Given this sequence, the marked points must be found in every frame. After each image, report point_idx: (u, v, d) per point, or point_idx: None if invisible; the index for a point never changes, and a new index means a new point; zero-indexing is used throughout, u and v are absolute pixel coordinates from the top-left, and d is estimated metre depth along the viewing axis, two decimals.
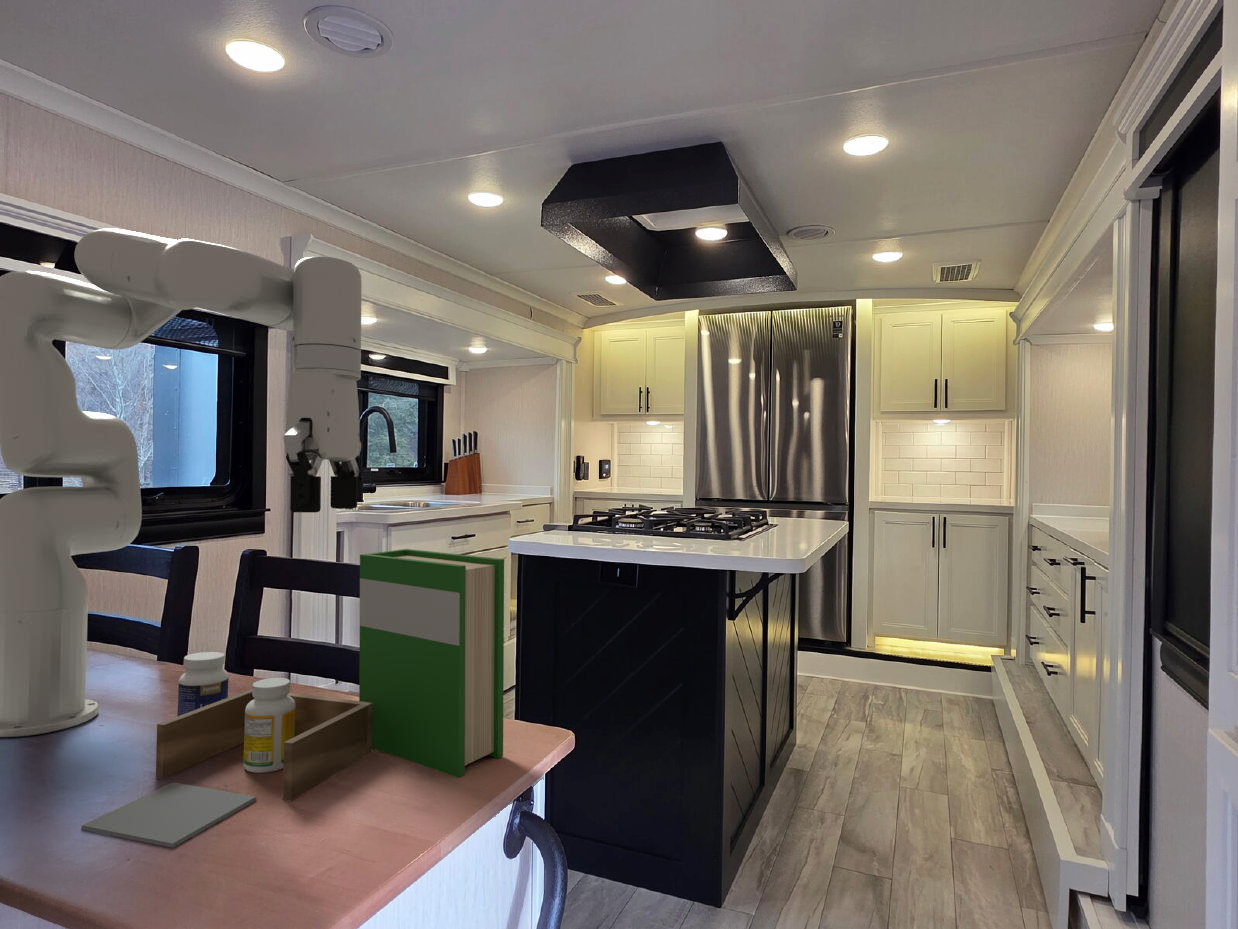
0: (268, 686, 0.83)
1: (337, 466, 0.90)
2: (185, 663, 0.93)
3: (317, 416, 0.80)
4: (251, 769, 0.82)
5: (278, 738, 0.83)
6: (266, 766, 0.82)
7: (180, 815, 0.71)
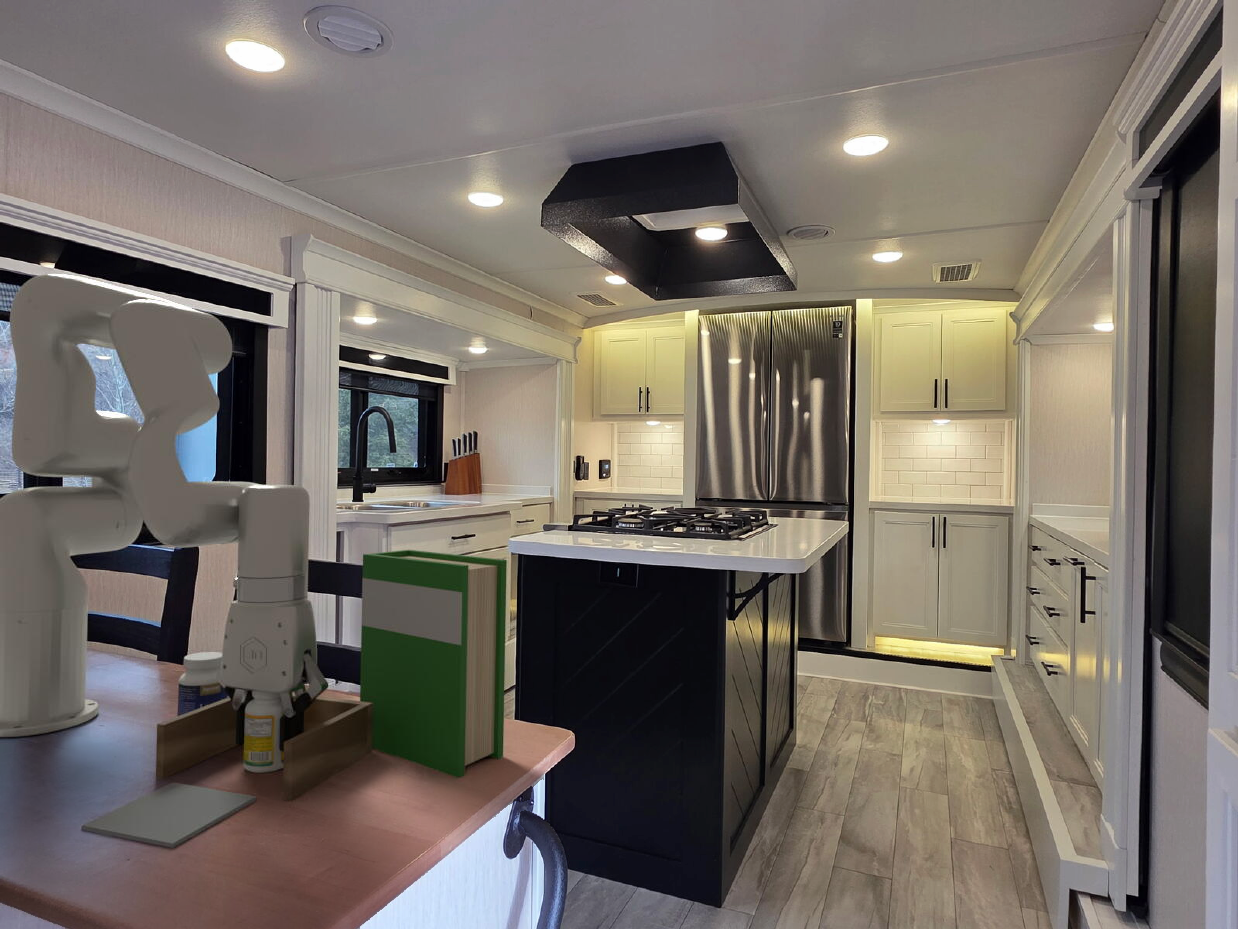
0: None
1: None
2: (185, 663, 0.93)
3: (314, 646, 0.84)
4: (251, 769, 0.82)
5: (278, 737, 0.83)
6: (266, 766, 0.82)
7: (180, 815, 0.71)
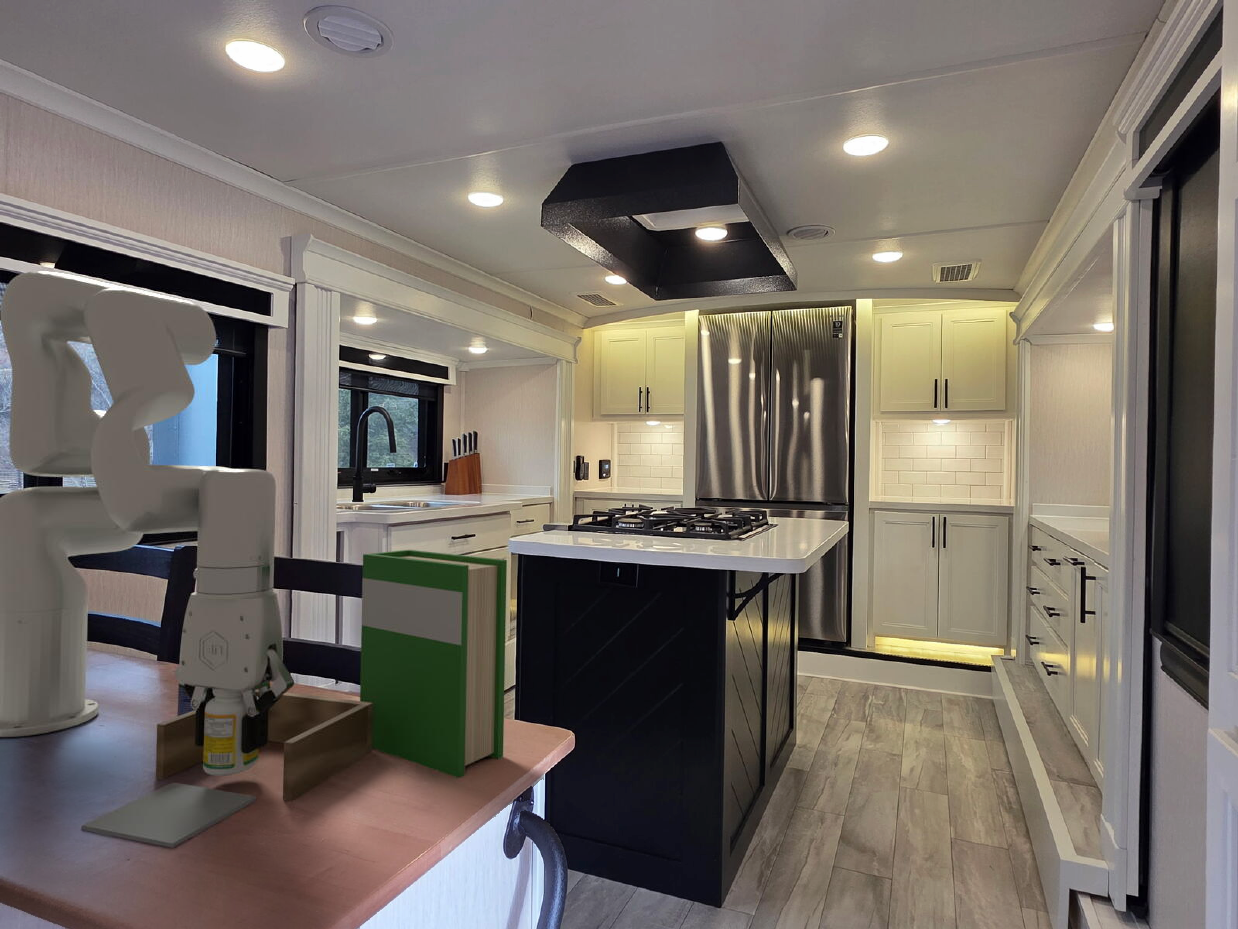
0: None
1: None
2: None
3: (279, 640, 0.79)
4: (211, 772, 0.77)
5: (240, 738, 0.77)
6: (227, 768, 0.77)
7: (180, 815, 0.71)
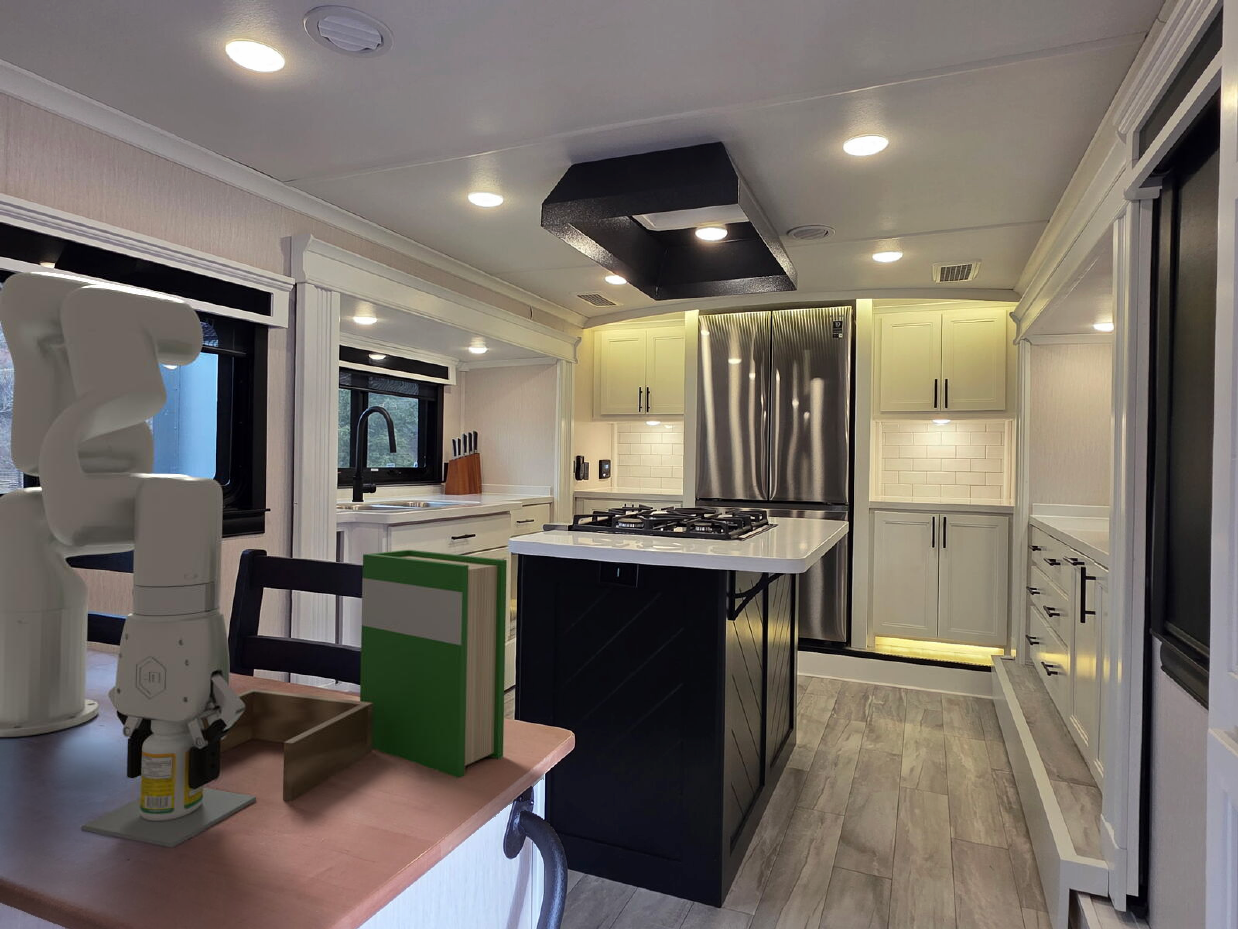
0: None
1: None
2: None
3: (225, 666, 0.72)
4: (147, 817, 0.69)
5: (180, 779, 0.70)
6: (165, 813, 0.69)
7: None
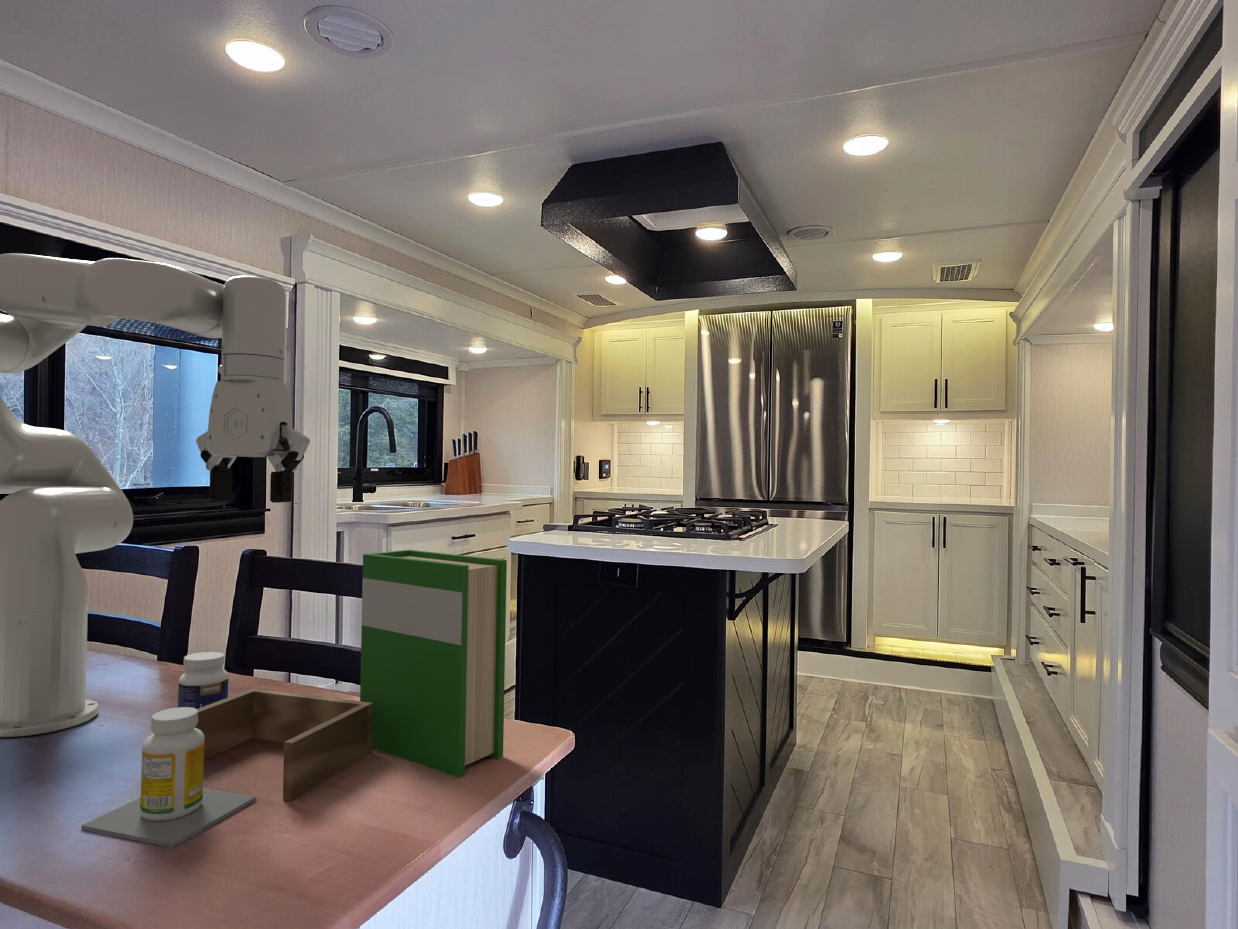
0: (169, 718, 0.71)
1: None
2: (185, 663, 0.93)
3: (289, 421, 0.95)
4: (147, 817, 0.69)
5: (180, 779, 0.70)
6: (165, 813, 0.69)
7: None
